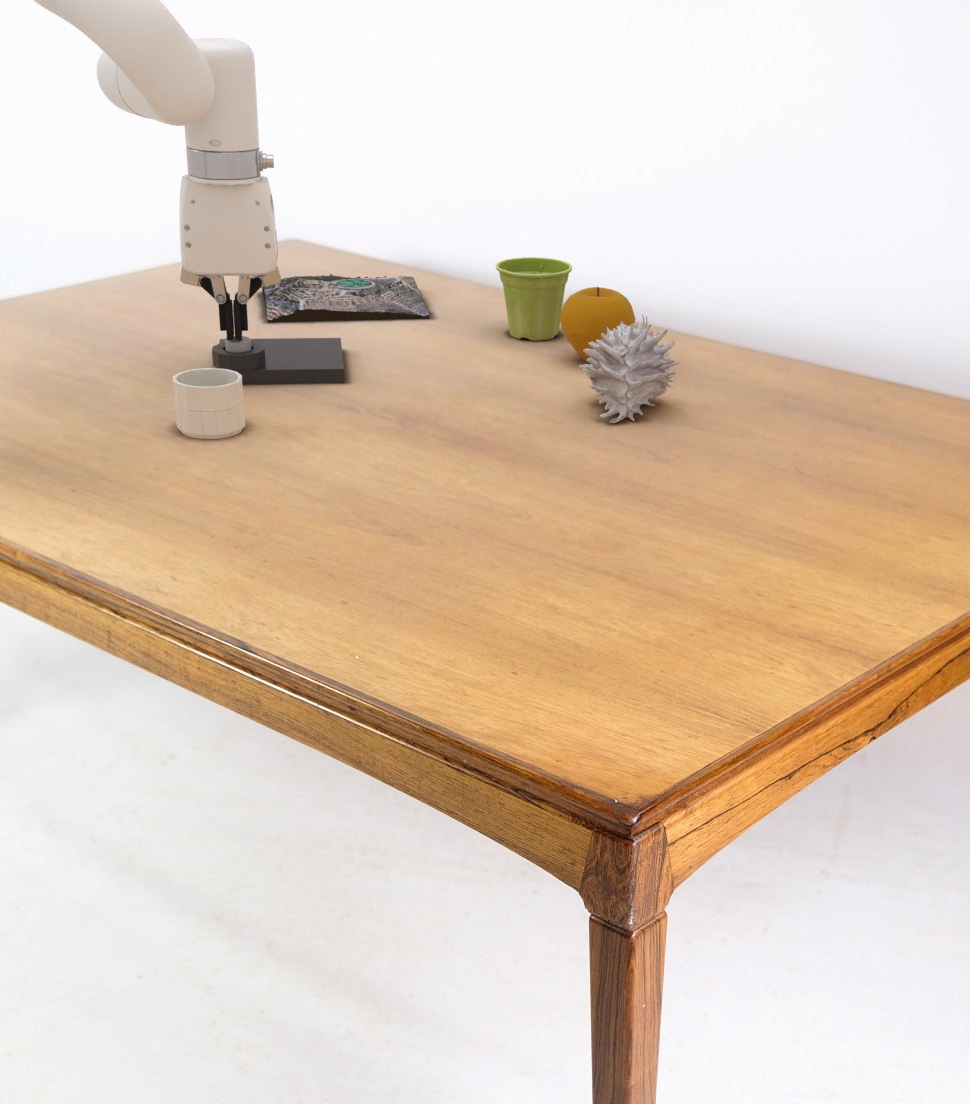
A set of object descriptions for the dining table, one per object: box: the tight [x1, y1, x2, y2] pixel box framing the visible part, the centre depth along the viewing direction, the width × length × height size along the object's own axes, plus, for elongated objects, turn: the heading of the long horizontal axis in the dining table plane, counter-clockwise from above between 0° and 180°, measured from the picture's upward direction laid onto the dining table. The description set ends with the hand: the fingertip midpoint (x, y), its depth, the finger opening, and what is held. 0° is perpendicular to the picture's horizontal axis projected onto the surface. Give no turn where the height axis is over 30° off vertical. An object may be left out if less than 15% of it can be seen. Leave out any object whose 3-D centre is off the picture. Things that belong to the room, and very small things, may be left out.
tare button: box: [224, 335, 252, 352], centre depth 181 cm, size 3×3×1 cm
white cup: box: [171, 367, 246, 440], centre depth 166 cm, size 7×7×6 cm
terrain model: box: [261, 273, 430, 324], centre depth 212 cm, size 20×15×3 cm
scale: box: [211, 337, 346, 386], centre depth 186 cm, size 14×13×4 cm
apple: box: [560, 286, 636, 364], centre depth 193 cm, size 9×9×9 cm
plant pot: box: [495, 256, 573, 342], centre depth 202 cm, size 9×9×9 cm
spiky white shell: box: [578, 314, 681, 424], centre depth 177 cm, size 12×11×12 cm
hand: (234, 336), depth 181 cm, fingers closed
